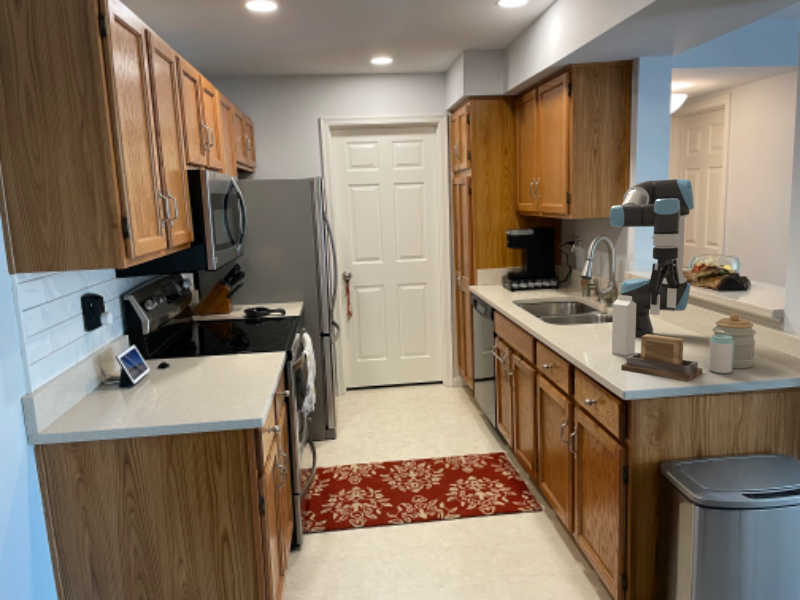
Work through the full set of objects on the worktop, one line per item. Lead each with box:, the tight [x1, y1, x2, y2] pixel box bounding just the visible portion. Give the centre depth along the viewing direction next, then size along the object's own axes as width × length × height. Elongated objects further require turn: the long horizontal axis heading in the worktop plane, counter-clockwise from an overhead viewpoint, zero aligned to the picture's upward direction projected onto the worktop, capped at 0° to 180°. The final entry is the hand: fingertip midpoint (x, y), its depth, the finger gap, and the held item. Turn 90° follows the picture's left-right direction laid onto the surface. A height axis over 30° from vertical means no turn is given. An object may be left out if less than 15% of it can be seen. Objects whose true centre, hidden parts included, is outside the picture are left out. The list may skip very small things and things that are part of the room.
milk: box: [611, 294, 636, 357], centre depth 222 cm, size 6×6×22 cm
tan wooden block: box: [640, 334, 684, 365], centre depth 198 cm, size 5×12×10 cm, turn 45°
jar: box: [712, 313, 757, 369], centre depth 203 cm, size 13×13×18 cm
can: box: [708, 334, 734, 375], centre depth 195 cm, size 7×7×12 cm
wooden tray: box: [620, 352, 703, 382], centre depth 199 cm, size 12×22×4 cm, turn 45°
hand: (663, 311), depth 196 cm, fingers open, 13 cm apart
